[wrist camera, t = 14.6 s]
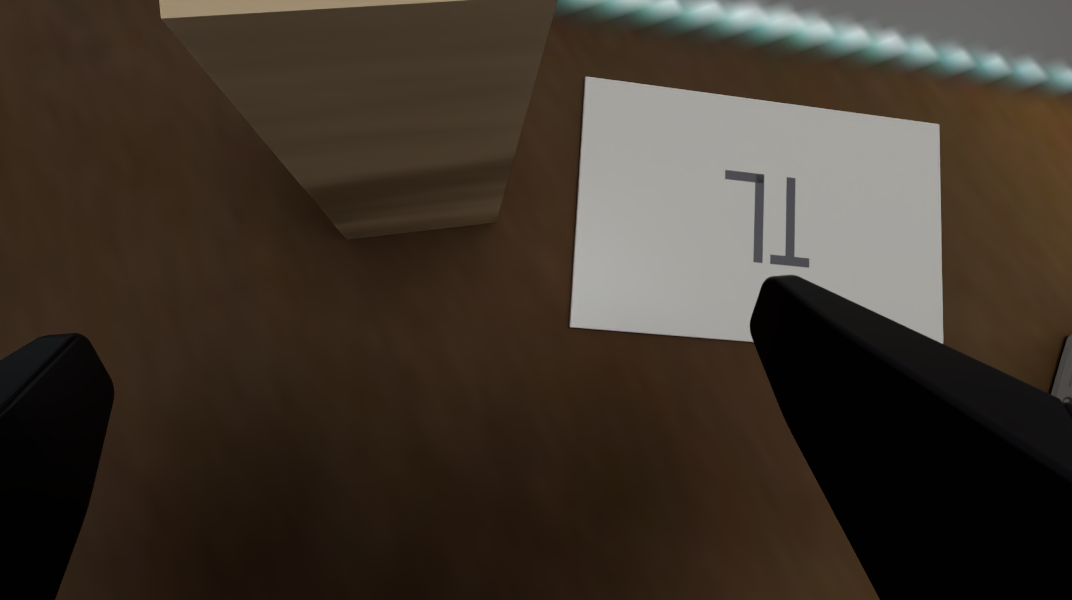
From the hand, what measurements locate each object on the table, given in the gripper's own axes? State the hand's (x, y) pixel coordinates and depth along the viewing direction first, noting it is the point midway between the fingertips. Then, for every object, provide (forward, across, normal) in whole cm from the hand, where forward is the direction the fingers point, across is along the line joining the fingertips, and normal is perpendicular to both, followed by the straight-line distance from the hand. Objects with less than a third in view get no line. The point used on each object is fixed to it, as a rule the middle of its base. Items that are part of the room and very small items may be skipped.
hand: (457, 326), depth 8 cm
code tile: (+11, -12, +5) cm, 17 cm away
